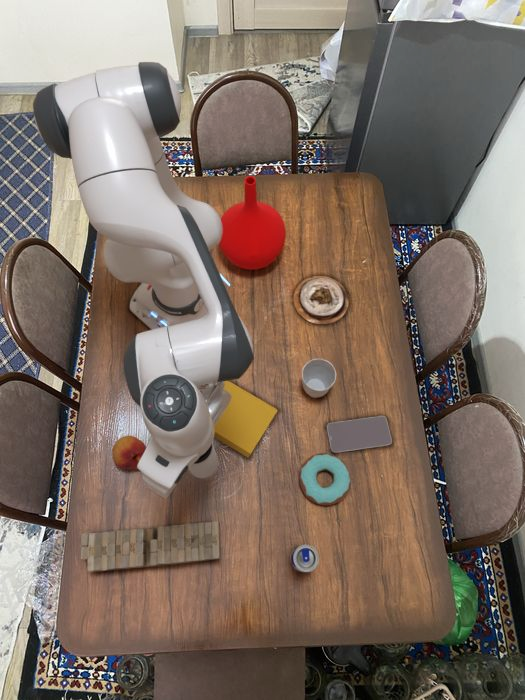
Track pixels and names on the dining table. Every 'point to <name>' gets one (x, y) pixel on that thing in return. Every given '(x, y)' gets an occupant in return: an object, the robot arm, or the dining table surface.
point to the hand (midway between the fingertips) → (195, 448)
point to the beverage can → (304, 558)
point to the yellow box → (243, 420)
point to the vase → (252, 231)
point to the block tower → (151, 546)
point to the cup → (318, 377)
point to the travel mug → (205, 464)
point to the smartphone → (358, 434)
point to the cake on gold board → (320, 300)
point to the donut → (311, 485)
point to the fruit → (128, 452)
